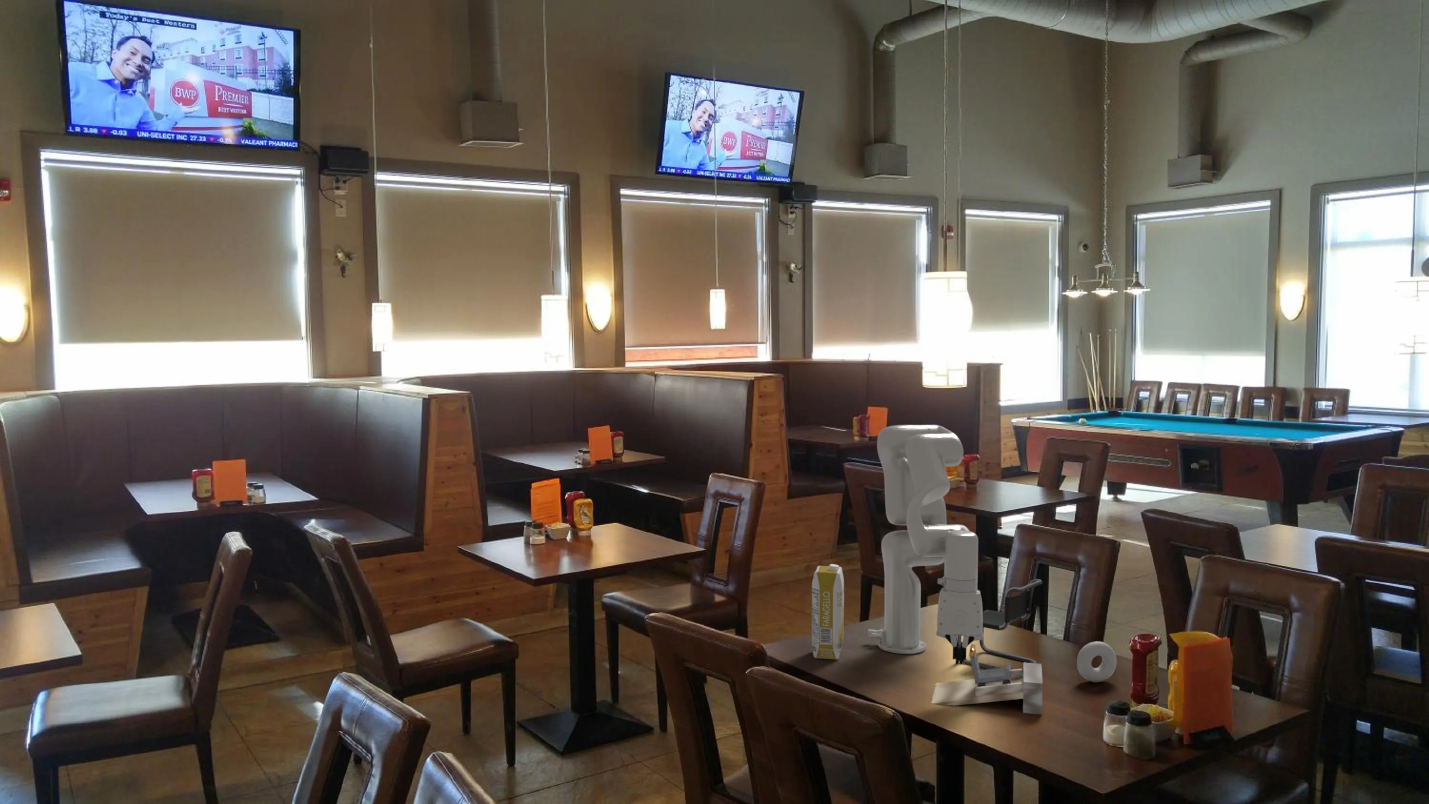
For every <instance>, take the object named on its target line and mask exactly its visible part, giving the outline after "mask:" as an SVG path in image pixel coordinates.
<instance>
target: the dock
mask: <svg viewBox="0 0 1429 804" xmlns="http://www.w3.org/2000/svg"><path fill="white" fill-rule="evenodd" d="M1022 662H1023V666H1022V668H1017V669H1016V668H1014V669H1011V680H1010V682H1011V684H1002V683H1003V680H1002V681H993V682H985V685H986V686H982V687H977V686H978V683H975V679H974V678H972V679H964V680H953V681H944V682H936V683H935V686H936V685H937V686H936V687H935V686H934V690H933V695H932V700H931V703H930V704H933V705H943V706H950V705H953V706H961V705H971V704H972V705H974V704H982V703H992V702H1001V701H1002V702H1003V701H1011V700H1012V701H1013V700H1020V699H1021V700H1022V712H1023V714H1031V715H1032V714H1033V715H1041V716H1042V715H1043V687H1044V686H1043V683H1044V682H1043V681H1044V680H1043V670H1042V667H1043V666H1042V663H1038V664H1036V663H1028V662H1024V661H1022ZM1022 669H1023V674H1022Z"/></svg>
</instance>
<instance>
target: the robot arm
mask: <svg viewBox="0 0 1429 804" xmlns="http://www.w3.org/2000/svg"><path fill="white" fill-rule="evenodd" d="M876 447H877V455H878V459H879V461H880V464H881V467H882V470H883V478H884V502H885V503H884V504H885V505H884V506H885V516H886V518H887V520H888V522H889V523H890V524H893V525H895V526H906V528H907V529H905V530H903V529H902V530H901V529H900V530H894V531H890V532H888V533H887V534H885V535H884V536H883V538H882V539H881V544H880V545H881V554H882V561H883V570H884V623H883V624H884V625H883V626H884V627H883V628H880V629H879V630H878V629H873V628H872V629H871V628H869V629H867V636H868V637H870V639H879V640H878V642H877V645H878V647H879V649H880V650H883V651H885V652H888V653H893V654H899V655H913V654H920V653H923V652H924V651H926V649H927V644H926V642H924V641H923V640H922V639H921V602H922V601H921V599H922V598H921V593H922V592H921V591H922V589H921V586H922V584H921V581H920V578H919V577H918V575H916V573H915V571H914V570H913V569H912V568H913V567H922V566H924V567H925V566H927V567H928V566H939V565H941V564H943V563H944V566H943V567H944V568H943V571H944V572H943V576H942V577H941V578H940V577H939V578H937V584H938V585H941V586H942V588H941V589H940V591H939V595H938V602H937V603H938V604H937V617H936V619H937V621H936V632H935V634H936V636H937V637H939V638H943V639H946V641H948V642H949V643H950V644H951V647H952V660H955V665H961V666H963V664H964V663H963V660H966V659H967V647H968V646H969V645H971V644H973V642H974V641H976V642H977V641H979V640H982V639H983V638H985V637H984V636H985V635H983V630H982V629H983V612H984V610H983V601H982V595H981V590H979V589H978V576H979V575H978V573H979V571H978V570H979V568H978V567H979V536H978V534H976V533H975V532H973V531H970V529H969V528H968V527H967V526H965V525H964V524H959V523H958V524H957V523H956V524H955V523H954V524H947V508H946V502H945V498H944V497H945V496H946V495H947V494H948V493H949V491H950V489H951V482H950V479H949V476H948V473H947V470H946V467H957V466H959V465H960V464H961V463H962V461H963V459H964V447H963V444H962V442H961V439H960V438H959V436H958V435H957V434H956V433H954V432H952V431H951V430H949V429H947V428H945V427H944V426H941V425H939V424H897V425H896V424H895V425H890V426H887V427H884V428H882V429H881V430H880V431H879V433H878V436H877V440H876ZM957 635H960V636H961V637H963V638H962V640H961V645H959V642H958V641H957Z"/></svg>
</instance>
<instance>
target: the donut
mask: <svg viewBox="0 0 1429 804" xmlns="http://www.w3.org/2000/svg"><path fill="white" fill-rule="evenodd" d="M1097 656H1100V657H1101V663H1100V665H1099V666H1098V667H1093V665H1092V662H1093V660H1094V658H1095V657H1097ZM1117 664H1118V660H1117V655H1116V653H1115V651H1114V649H1113V648H1112V646H1110V645H1109V644H1107V643H1105V642H1103V641H1099V640H1098V641H1097V640H1096V641H1091V642H1088V643H1086V644H1085V645H1084V646H1083V647H1082V648H1081V649H1080V650H1079V652H1078V655H1077V658H1076V667H1077V668H1076V669H1077V670H1078V673H1079V675H1081V677H1083V679H1084V680H1087V681H1088V682H1090V681H1091V682H1092V683H1101V682H1105V681H1106V680H1108V679H1109V678H1111V676H1112V675H1113V674H1114V672H1115V671H1116V668H1117ZM1091 682H1090V683H1091Z"/></svg>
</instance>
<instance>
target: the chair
mask: <svg viewBox="0 0 1429 804" xmlns="http://www.w3.org/2000/svg"><path fill="white" fill-rule="evenodd" d="M1040 585H1043V581H1042V580H1041V579H1038V578H1035V579H1032V580H1030V581H1029V582H1028V583H1027V584H1026V585H1025V586H1021V587H1017V586H1016V587H1010V588H1008V590H1006V593H1005V596H1004V612H1002V611H998V610H991V609H986V610H983V629H982V630H983V635H984V634H985V633H984V630H985V629H990V630H995V631H1003V630H1007V628H1008V627H1009V625H1010V624H1012V623H1014V622H1016V621H1020V622H1023V621H1026V620H1028V619H1029V618H1030V617H1031V615H1032V594H1033V593H1032V589H1033V588H1035V587H1038V586H1040ZM1014 592H1015V593H1020V594H1018V595H1016V596H1011V594H1013V593H1014ZM984 636H985V635H984ZM984 638H985V637H984ZM984 638H983V639H982V640H978V642H979V645H980V646H979V647H980V648H981V649H982V650H983V652H984V653H987V654H991V655H995V656H999V657H1002V656H1003V658H1007V659H1011V658H1012V660H1015V659H1016V661H1021V662H1025V663H1028V662H1029V663H1036V664H1039V663H1038V661H1036V660H1035V659H1033V658H1029V657H1024V656H1019V655H1015V654H1011V653H1007V652H1003V651H997V650H994V649H990V648H988V647H986V645H985V643H984V640H985V639H984ZM957 641H958V642H959V645H961V642H962V636H960V635H957ZM978 663H979V668H982V669H985V670H987V669H996V668H1001V667H1000V666H995V665H991V664H987V663H982V662H979V661H978ZM963 664H965V665H969V666H972V664H971V659H970V660H969V659H967V658H966V660H963ZM1021 669H1022V674H1023V668H1021Z"/></svg>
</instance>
